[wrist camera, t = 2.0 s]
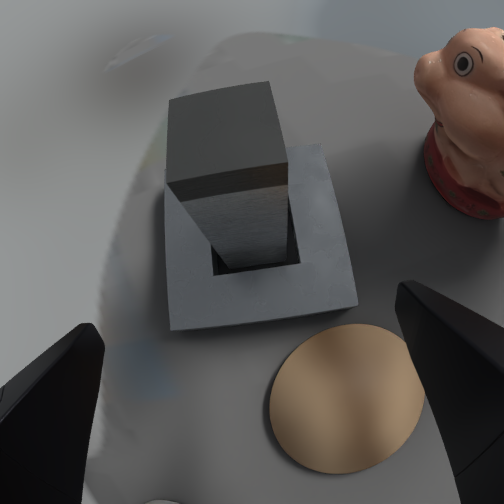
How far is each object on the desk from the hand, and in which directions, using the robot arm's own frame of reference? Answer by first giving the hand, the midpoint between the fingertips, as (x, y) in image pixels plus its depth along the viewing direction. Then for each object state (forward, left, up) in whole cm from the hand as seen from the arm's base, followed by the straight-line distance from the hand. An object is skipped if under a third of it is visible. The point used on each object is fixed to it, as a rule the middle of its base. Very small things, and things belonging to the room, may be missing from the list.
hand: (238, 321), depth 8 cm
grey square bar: (+3, +6, -13) cm, 14 cm away
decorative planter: (+24, 0, -13) cm, 27 cm away
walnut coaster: (+2, -7, -12) cm, 15 cm away
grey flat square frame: (+3, +6, -12) cm, 14 cm away
